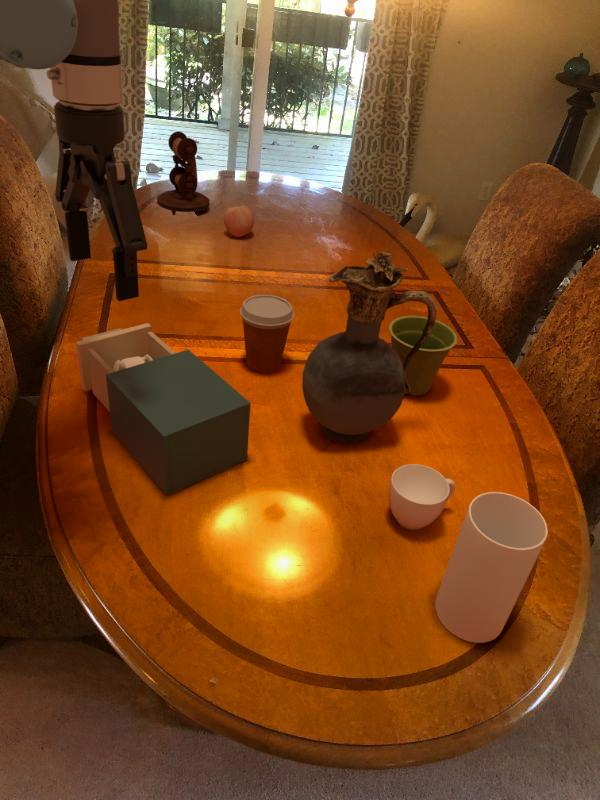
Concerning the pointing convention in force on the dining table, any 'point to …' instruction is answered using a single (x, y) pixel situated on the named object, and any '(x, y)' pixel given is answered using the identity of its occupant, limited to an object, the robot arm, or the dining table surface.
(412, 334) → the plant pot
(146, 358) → the elephant figurine
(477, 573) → the cup
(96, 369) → the drawer
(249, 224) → the apple
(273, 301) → the disposable coffee cup
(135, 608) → the dining table surface
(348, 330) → the pitcher
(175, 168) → the brown mechanical sculpture
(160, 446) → the cabinet
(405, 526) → the cup
